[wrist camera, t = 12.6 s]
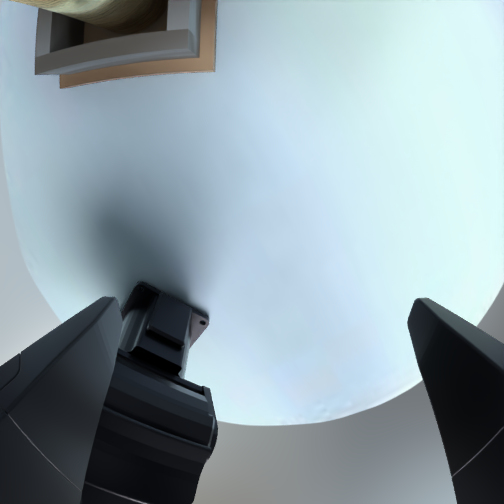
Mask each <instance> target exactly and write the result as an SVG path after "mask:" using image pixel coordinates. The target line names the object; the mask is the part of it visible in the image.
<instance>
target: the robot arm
mask: <svg viewBox="0 0 504 504" xmlns="http://www.w3.org/2000/svg"><path fill="white" fill-rule="evenodd" d="M139 287H142V288H143V289H144V290H142V289H140V288H139ZM201 320H203V321H205V322H201ZM407 324H408V329H409V333H410V336H411V340H412V344H413V348H414V352H415V356H416V360H417V363H418V367H419V370H420V373H421V375H422V378H423V381H424V384H425V387H426V390H427V392H428V396H429V399H430V402H431V405H432V408H433V411H434V415H435V418H436V421H437V424H438V428H439V431H440V434H441V438H442V442H443V445H444V449H445V453H446V456H447V460H448V464H449V468H450V473H451V476H452V482H453V486H454V491H455V495H456V500H457V504H504V344H503V343H501V342H500V341H498V340H497V339H495V338H494V337H492V336H490V335H489V334H487V333H486V332H484V331H482V330H481V329H479V328H477V327H476V326H474V325H473V324H471V323H469V322H468V321H466V320H464V319H463V318H461V317H459V316H458V315H456V314H454V313H453V312H451V311H449V310H448V309H446V308H444V307H443V306H441V305H439V304H437V303H436V302H434V301H432V300H431V299H429V298H417V299H416V300H415V301H414V303H413V306H412V309H411V312H410V315H409V317H408V322H407ZM208 325H209V318H208V317H207V316H206V315H204V314H202V313H200V312H198V311H196V310H194V309H192V308H191V307H189V306H187V305H185V304H183V303H182V302H180V301H178V300H176V299H174V298H172V297H170V296H169V295H167V294H165V293H163V292H161V291H159V290H157V289H155V288H154V287H152V286H150V285H148V284H147V283H145V282H138V283H137V284H136V286H135V288H134V289H133V291H132V293H131V295H130V297H129V299H128V301H127V303H126V304H125V306H124V308H123V310H122V312H120V308H119V304H118V300H117V299H116V298H115V297H106V296H104V297H102V298H100V299H98V300H97V301H95V302H94V303H92V304H91V305H89V306H88V307H86V308H85V309H83V310H82V311H80V312H79V313H77V314H76V315H74V316H73V317H71V318H70V319H68V320H67V321H65V322H64V323H62V324H61V325H59V326H58V327H56V328H55V329H53V330H52V331H51V332H49V333H48V334H46V335H45V336H43V337H42V338H40V339H39V340H37V341H36V342H35V343H33V344H32V345H30V346H29V347H27V348H26V349H25V350H23V351H22V352H21V354H17V355H16V356H15V357H13V358H12V359H10V360H9V361H7V362H6V363H4V364H3V365H2V366H0V504H192V503H193V501H194V497H195V493H196V489H197V484H198V481H199V477H200V474H201V472H202V469H203V467H204V464H205V463H206V462H207V460H208V459H209V458H210V456H211V454H212V452H213V450H214V447H215V444H216V440H217V435H218V426H217V420H216V416H215V411H214V406H213V401H212V397H211V392H210V388H207V387H205V386H202V387H201V386H199V385H197V384H194V383H192V382H190V381H187V380H185V379H184V376H185V370H186V364H187V358H188V353H189V349H190V347H191V346H192V345H193V344H194V342H195V341H196V340H197V339H198V337H199V336H200V335H201V334H202V333H203V331H204V330H205V329H206V328H207V326H208Z"/></svg>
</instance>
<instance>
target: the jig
mask: <svg viewBox="0 0 504 504" xmlns="http://www.w3.org/2000/svg"><path fill="white" fill-rule="evenodd" d="M217 2H218V0H168V2H167V5H166V8H165V10H164V12H163V13H162V15H161V16H160V17H159V19H158V20H157V21H156V22H155V23H153V24H152V25H151V26H149V27H148V28H146V29H144V30H142V31H140V32H137V33H133V34H118V33H114V32H112V31H109V30H106V29H104V28H101V27H98V26H96V25H93V24H90V23H87V22H84V21H81V20H78V19H75V18H72V17H69V16H66V15H63V14H60V13H56V12H53V11H49V10H46V9H42V8H39V10H38V19H37V31H36V47H35V75H60V89H61V88H71V87H76V86H81V85H86V84H92V83H98V82H104V81H110V80H117V79H125V78H133V77H141V76H151V75H162V74H176V73H195V72H215V54H216V25H217Z"/></svg>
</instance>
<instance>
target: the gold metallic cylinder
mask: <svg viewBox="0 0 504 504" xmlns="http://www.w3.org/2000/svg"><path fill="white" fill-rule="evenodd" d="M10 1H15V2H19V3H23V4H27V5H31V6H35V7H39V8H42V9H46V10H49V11H53V12H56V13H60V14H63V15H66V16H69V17H72V18H75V19H78V20H81V21H84V22H87V23H90V24H93V25H96V26H98V27H101V28H104V29H106V30H109V31H112V32H114V33H118V34H133V33H137V32H140V31H142V30H144V29H146V28H148V27H149V26H151V25H152V24H153V23H155V22H156V21H157V20H158V19H159V17H160V16H161V15H162V13H163V12H164V10H165V8H166V5H167V2H168V0H10Z"/></svg>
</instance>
